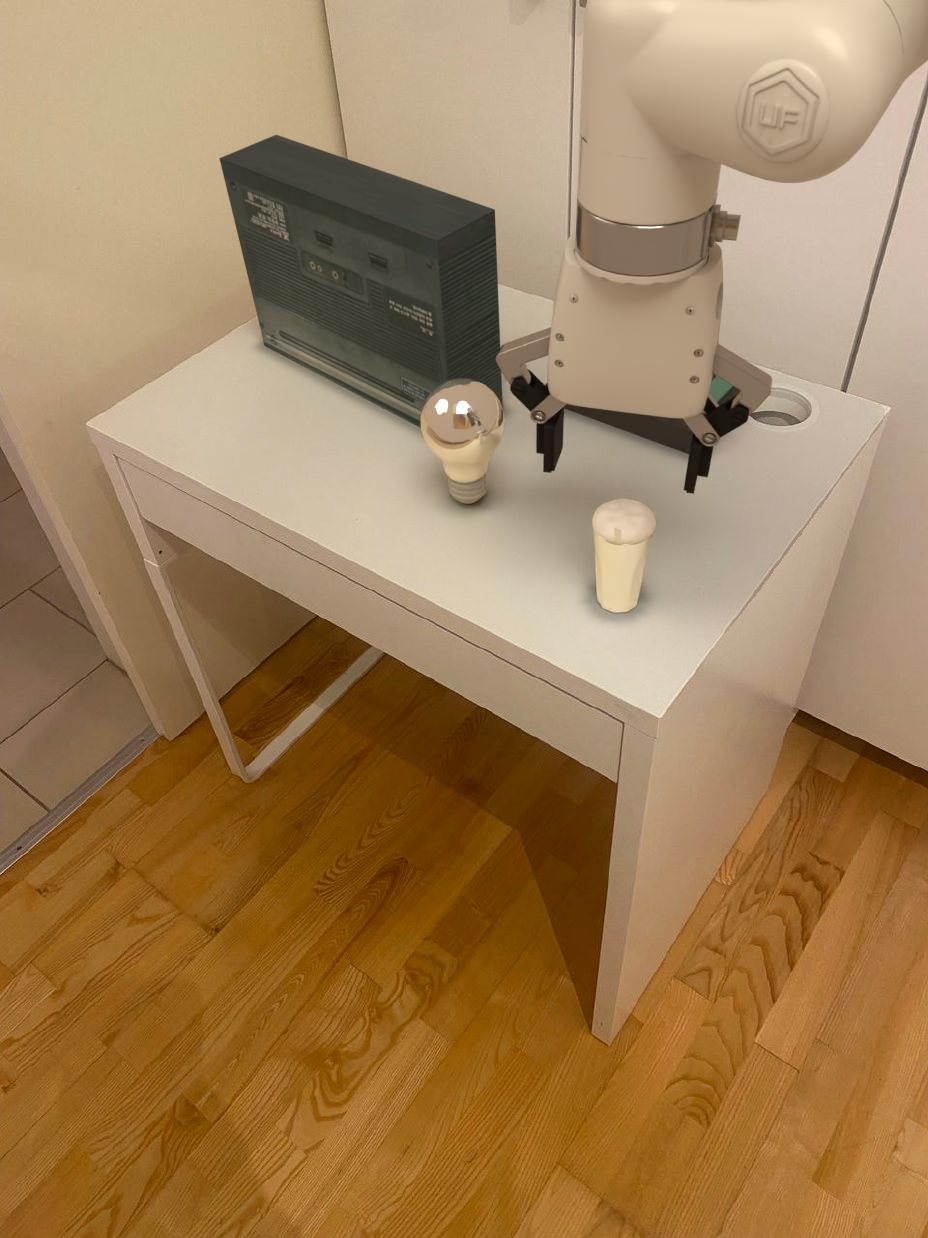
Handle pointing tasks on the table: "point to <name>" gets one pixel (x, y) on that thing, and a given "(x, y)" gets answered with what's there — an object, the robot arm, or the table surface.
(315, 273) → the cassette player
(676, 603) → the table surface
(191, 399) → the table surface
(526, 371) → the robot arm
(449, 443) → the light bulb
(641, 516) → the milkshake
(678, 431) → the scale
